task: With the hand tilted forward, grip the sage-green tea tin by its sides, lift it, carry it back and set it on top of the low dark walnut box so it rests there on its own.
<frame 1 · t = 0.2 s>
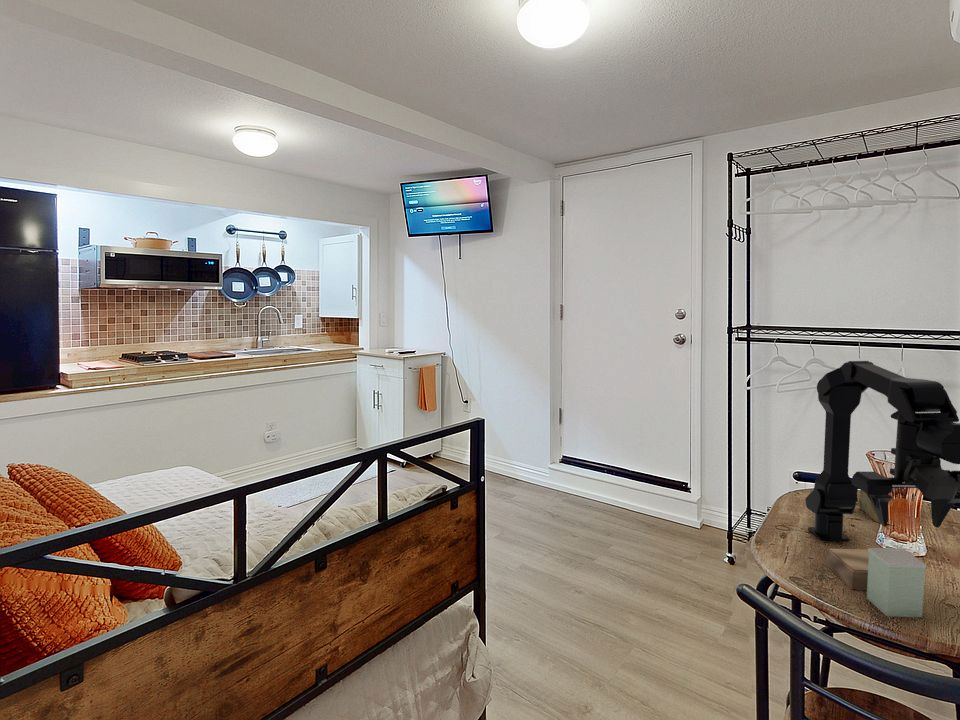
hand: (909, 526, 102), 14 cm above the table, tool pointing down, fingers open, 9 cm apart
rock: (876, 517, 140), on the table
tea tin: (893, 607, 100), on the table
walnut box: (863, 578, 111), on the table
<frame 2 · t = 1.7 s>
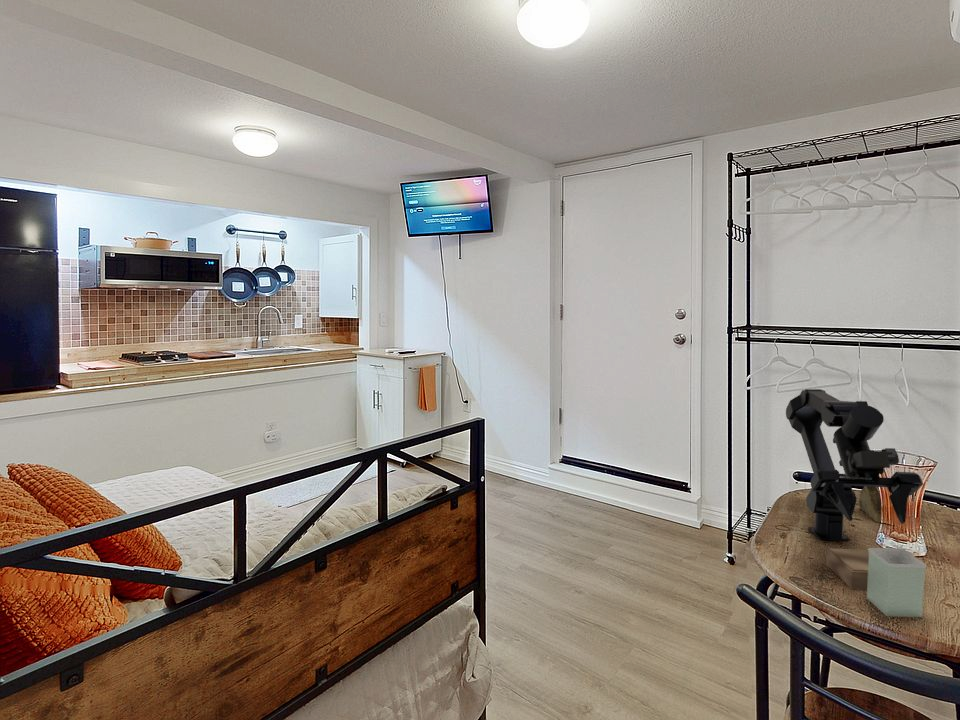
hand: (876, 521, 107), 13 cm above the table, tool tilted 45°, fingers open, 9 cm apart
nothing on the table moved.
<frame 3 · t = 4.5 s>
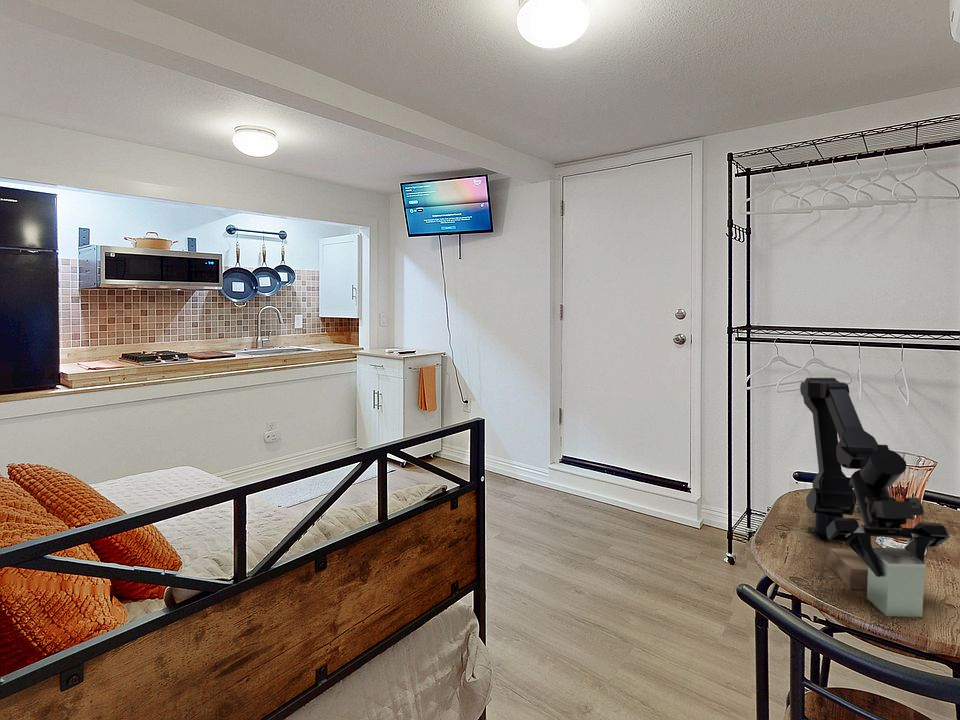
hand: (899, 577, 98), 7 cm above the table, tool tilted 45°, fingers closed on tea tin, 6 cm apart
tea tin: (893, 607, 100), on the table, touching gripper
everything else where it was.
when the fingers open (11 cm above the table, at t = 7.3 s): tea tin stays where it is, point 4 cm above the table.
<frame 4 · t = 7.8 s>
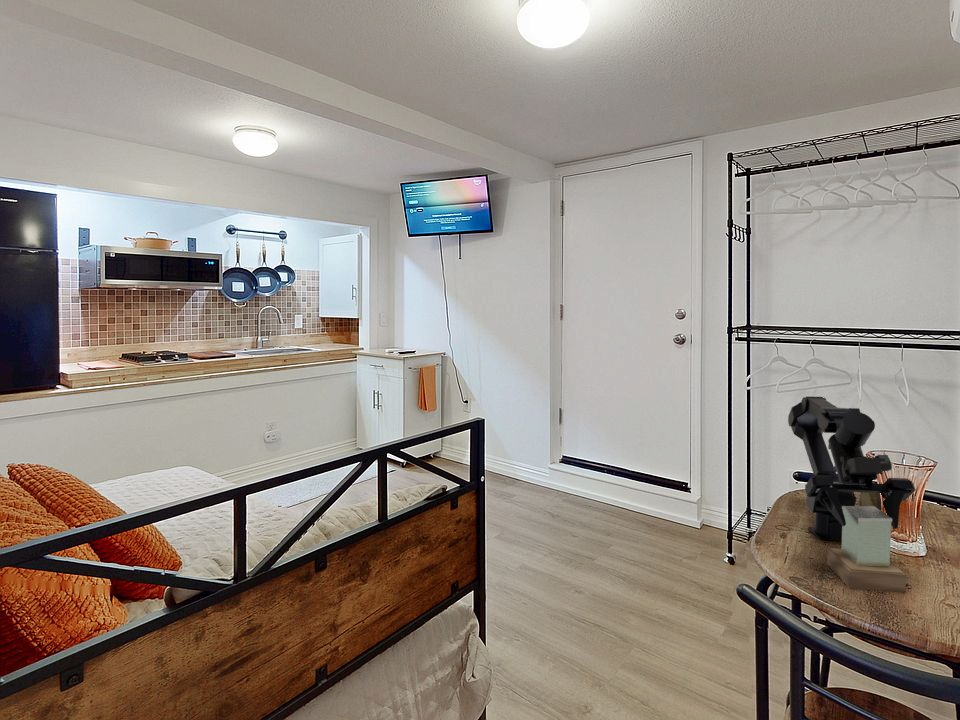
hand: (869, 526, 108), 12 cm above the table, tool tilted 45°, fingers open, 9 cm apart
tea tin: (864, 559, 111), point 4 cm above the table
everything else where it was.
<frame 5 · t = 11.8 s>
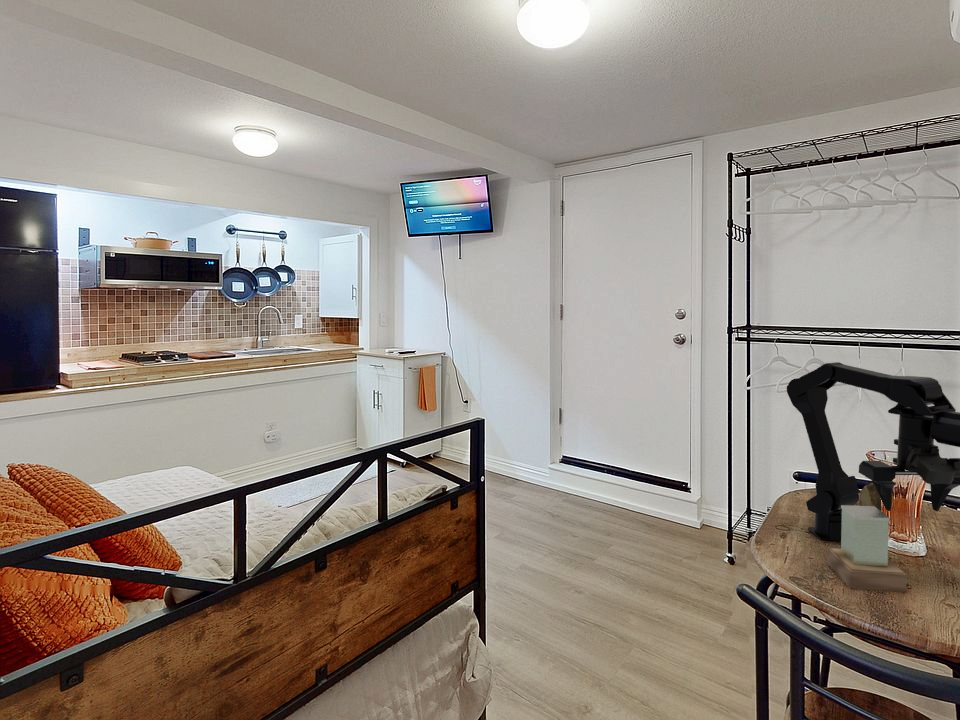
hand: (911, 510, 112), 13 cm above the table, tool pointing down, fingers open, 9 cm apart
tea tin: (863, 558, 111), point 4 cm above the table, touching walnut box
walnut box: (864, 579, 111), on the table, touching tea tin
everything else where it was.
at the end: tea tin inside the target area on the walnut box (0.3 cm from its centre), point 4.3 cm above the walnut box's base; tea tin tilted 1°; tea tin touching nothing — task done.
